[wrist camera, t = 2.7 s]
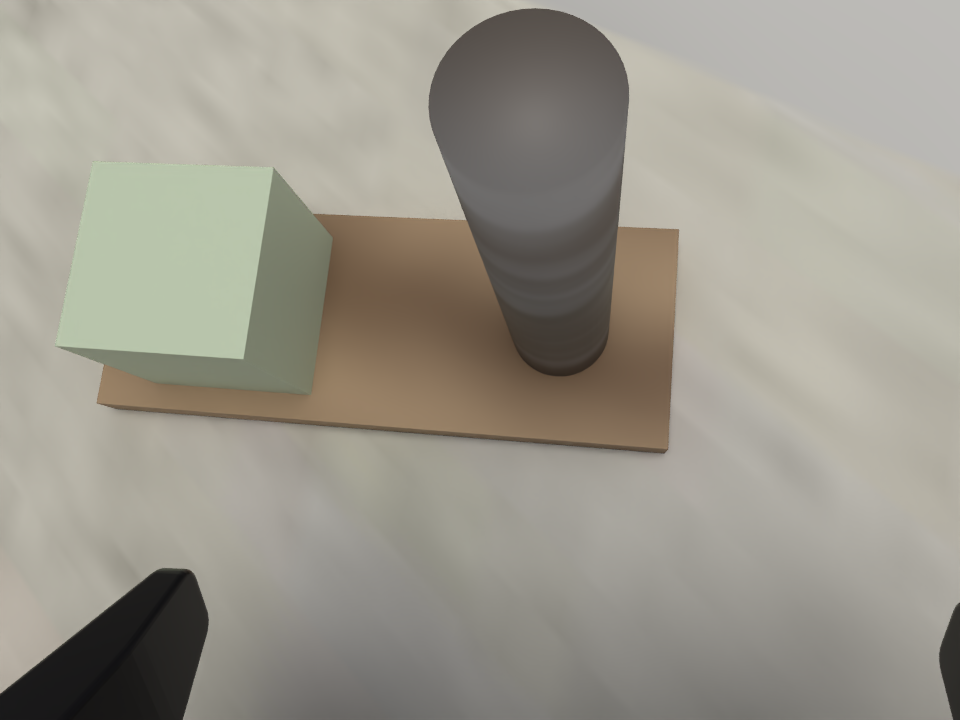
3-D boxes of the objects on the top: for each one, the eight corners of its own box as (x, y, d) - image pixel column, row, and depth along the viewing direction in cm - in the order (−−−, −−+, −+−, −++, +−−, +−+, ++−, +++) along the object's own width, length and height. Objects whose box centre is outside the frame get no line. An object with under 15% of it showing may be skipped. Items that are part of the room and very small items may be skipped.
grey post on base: (664, 453, 22) (761, 336, 10) (115, 408, 25) (-382, 268, 12) (675, 242, 23) (773, -106, 11) (151, 219, 26) (-266, -90, 13)
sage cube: (310, 395, 23) (243, 359, 18) (156, 383, 24) (54, 346, 19) (332, 237, 24) (273, 166, 19) (183, 230, 24) (93, 161, 20)
